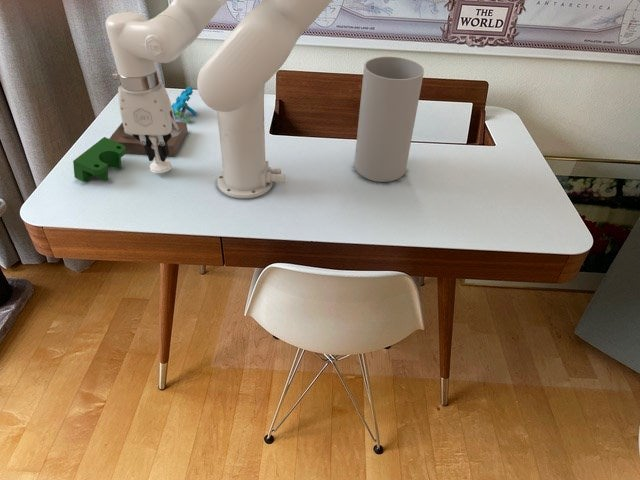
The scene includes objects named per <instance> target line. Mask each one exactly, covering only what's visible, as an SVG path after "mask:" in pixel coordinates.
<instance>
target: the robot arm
mask: <svg viewBox="0 0 640 480" xmlns="http://www.w3.org/2000/svg"><path fill="white" fill-rule="evenodd" d="M332 1H333V0H262V1H261V2H260V3H258V4H257V5H256V6H254V7H253V8H252V9H251V10H250V11H249V12H248V13H246V15H245V16H244V17H243V18H242V20H240V22H239V23H238V24H237V25H236V26H235V28H233V30H232V31H231V32H230V34H228V36H227V37H226V38H225V39H224V40H223V42H222V43H221V44H220V45H219V46H218V47H217V49H216V50H215V51H214V52H213V53H212V54H211V56H210V57H209V58H208V59H207V60H206V61H205V63H203V65H202V66H201V67H200V70H199V72H198V75H197V79H196V80H197V81H196V88H197V91H198V95H199V97H200V99H201V101H202V102H203V103H204V104H205V106H207V107H209V108H210V109H211V110H213V111H215V112H216V114H217V126H218V135H219V144H220V155H221V164H222V170H221V172H220V173H219V174H218V176H217V178H216V181H217V188H218V189H219V191H220V192H221V193H222V194H224V195H226V196H229V197H231V198H234V199H252V198H257V197H260V196H263V195H264V194H267V193H268V192H269V191H270V190H271V189H272V187H273V185H274V182H275V183H283V184H285V183H286V173H282V168H272V167H270V163H269V162H270V161H269V160H266V136H265V134H266V133H265V132H266V131H265V87H266V84H267V83H268V82H269V81H270V80H271V79H272V77H273V76H275V75H276V73H277V72H278V71H279V70H280V69H281V68H282V67H283V65H284V64H285V62H286V61H287V60H288V58H289V56H290V55H291V53H292V51H293V49H294V47H295V46H296V44H297V42H298V41H299V40H300V37H301V36H302V35H303V34H304V33H305V31H307V30H308V28H309V27H310V26H311V25H313V23H314V22H315V21H316V20H317V19H318V18H319V16H320V15H321V14H322V13H323V12H324V11H325V9H327V7H328V6H329V5H330V4H331V2H332ZM227 2H228V0H172V1H171V2H170V4H169V5H168V6H167V7H166V8H165V10H163V11H161V12H160V13H159V14H157V15H155V17H152V18H150V19H148V20H146V18H145V16H143V14H141V13H139V12H134V11H121V12H117V13H113V14H111V15H109V16H108V17H107V18H106V19H105V29H106V33H107V37H108V41H109V45H110V49H111V52H112V56H113V60H114V63H115V68H116V71H117V72H113V74H112V79H113V80H114V81H118V82H119V86H118V87H117V95H118V105H119V106H118V107H119V112H120V118H121V123H122V122H123V126H124V132H125V133H126V134H129V135H133V136H134V137H135V138H136V139H138V140H139V141H140V142H141V144H142V145H144V148H145V152H146V155H145V156H147V159H148V161H149V162H154V160H155V151H154V149H152V148H151V145H152V142H151V140H150V139H149V136H150V135H157V137H158V141H159V145H158V151H159V155H160V159H161V161H162V162H164V161H165V160H167V158H168V157H170V156H169V149H168V145H167V141H168V140H169V139H170V138H171V137H175V136H177V135H179V134H180V132H181V130H180V128H179V127H178V125H177V124H176V122H177V121H176V117H175V116H174V113H173V109H172V103H171V99H170V97H169V94H168V91H167V89H166V87H165V85H164V83H163V82H161V80H160V76H159V72H158V66H157V63H160V64H168V63H171V62H174V61H175V60H177V58H178V57H179V56H181V55H182V53H183V52H185V50H186V49H187V48H189V47H190V46H191V45H192V44H193V43H194V42H195V41H196V40H197V38H198V37H199V36H200V34H201V33H202V32H203V31H204V29H205V28H206V27H207V26H208V24H209V23H210V22H211V21H212V19H214V17H215V15H216V14H217V13H218V12H219V10H220V9H221V8H222V7H223V6H224V5H225V4H226V3H227Z"/></svg>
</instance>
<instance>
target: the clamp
mask: <svg viewBox="0 0 640 480" xmlns="http://www.w3.org/2000/svg"><path fill="white" fill-rule="evenodd" d="M125 155H126V153H125V146H124V145H122V144H120V143H118V142H115V141H113V140H110V139H109V138H108V137H106V136H104V137H102V138H100V140H98V141H97V142H96V143H94V144H92V146H90V147H89V148H88V149H86V150H85V151H83V153H81V154H80V155H79V156H77V157H76V158H75V159H73V160H72V164H73V175H74V178H75V179H77V180H79V181H81V182H84V183H86V182H88V181H89V180H90V179H92V178H93V177H96V178H98V179H101V180H103V181H106V182H108V181H109V168H116V169H118V170H121V169H122V157H123V156H125Z"/></svg>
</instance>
